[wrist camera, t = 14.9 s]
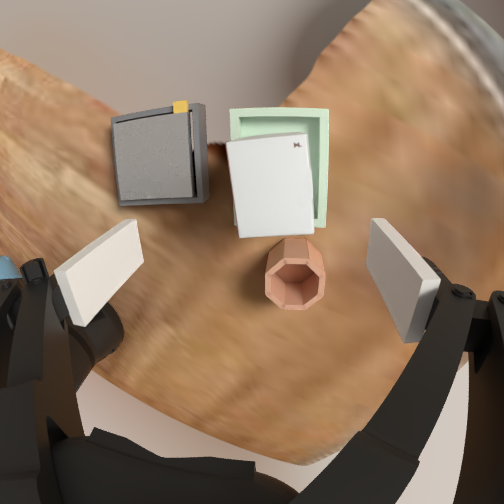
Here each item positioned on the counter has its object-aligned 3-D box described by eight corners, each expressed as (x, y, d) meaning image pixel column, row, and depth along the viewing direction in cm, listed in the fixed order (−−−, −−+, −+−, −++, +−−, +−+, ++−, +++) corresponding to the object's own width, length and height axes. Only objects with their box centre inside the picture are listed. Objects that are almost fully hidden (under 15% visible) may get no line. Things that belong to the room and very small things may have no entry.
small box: (247, 136, 32) (223, 140, 20) (301, 131, 31) (309, 131, 19) (255, 200, 35) (237, 240, 23) (306, 197, 34) (316, 235, 22)
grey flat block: (130, 200, 38) (117, 207, 34) (122, 114, 33) (108, 114, 29) (210, 197, 36) (202, 204, 33) (205, 101, 31) (196, 98, 28)
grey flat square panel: (124, 198, 34) (120, 200, 34) (117, 123, 30) (113, 124, 29) (195, 195, 33) (192, 197, 32) (189, 112, 29) (187, 111, 28)
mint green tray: (237, 219, 37) (234, 225, 35) (233, 110, 31) (229, 109, 29) (323, 221, 36) (325, 227, 33) (325, 110, 30) (328, 109, 28)
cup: (268, 284, 40) (265, 308, 35) (268, 237, 38) (265, 257, 32) (318, 285, 40) (321, 310, 34) (321, 239, 37) (327, 259, 31)
